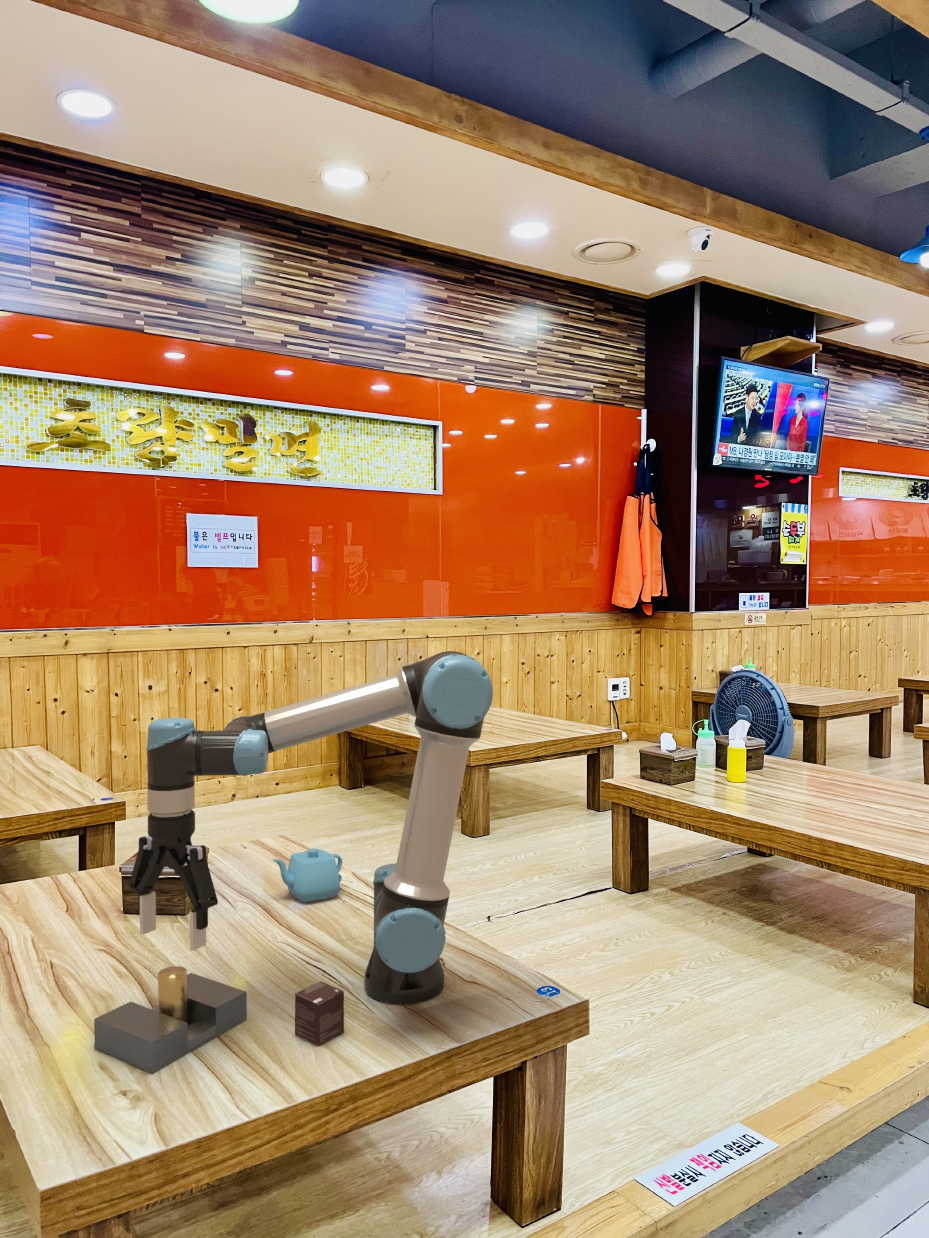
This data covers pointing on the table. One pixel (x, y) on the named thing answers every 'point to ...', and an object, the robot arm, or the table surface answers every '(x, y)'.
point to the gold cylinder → (173, 992)
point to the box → (319, 1013)
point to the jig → (170, 1025)
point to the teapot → (312, 875)
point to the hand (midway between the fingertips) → (172, 939)
